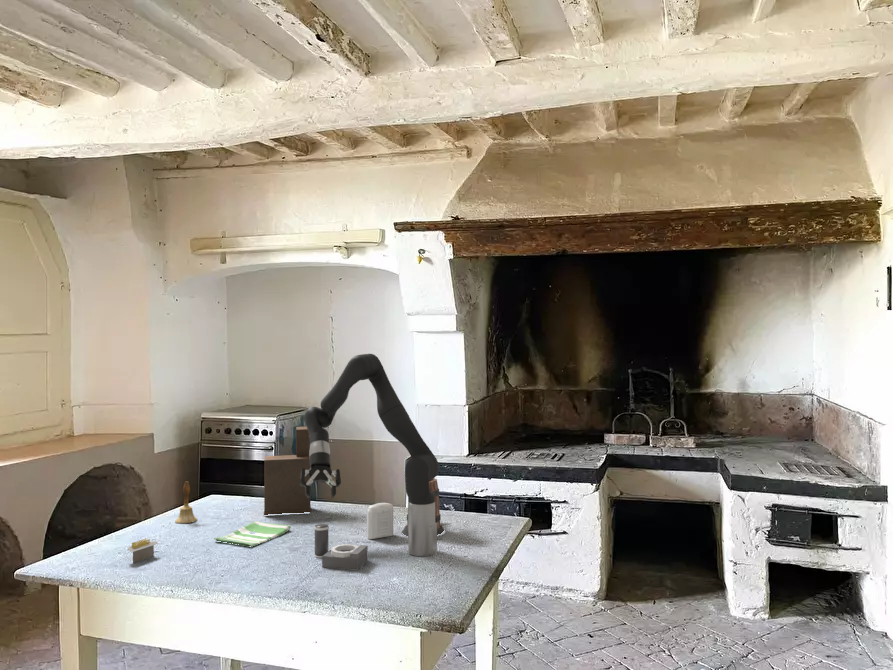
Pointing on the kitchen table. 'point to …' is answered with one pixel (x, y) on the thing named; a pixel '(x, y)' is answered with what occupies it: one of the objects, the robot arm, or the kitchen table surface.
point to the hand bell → (186, 508)
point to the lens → (321, 540)
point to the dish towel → (262, 535)
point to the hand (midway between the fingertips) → (321, 497)
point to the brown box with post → (287, 479)
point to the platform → (142, 549)
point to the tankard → (434, 488)
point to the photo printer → (379, 520)
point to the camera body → (346, 557)
